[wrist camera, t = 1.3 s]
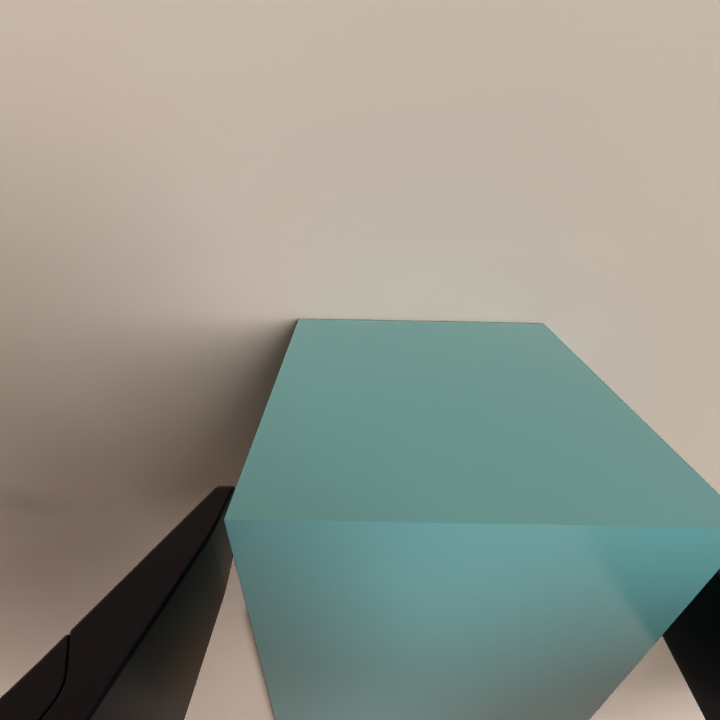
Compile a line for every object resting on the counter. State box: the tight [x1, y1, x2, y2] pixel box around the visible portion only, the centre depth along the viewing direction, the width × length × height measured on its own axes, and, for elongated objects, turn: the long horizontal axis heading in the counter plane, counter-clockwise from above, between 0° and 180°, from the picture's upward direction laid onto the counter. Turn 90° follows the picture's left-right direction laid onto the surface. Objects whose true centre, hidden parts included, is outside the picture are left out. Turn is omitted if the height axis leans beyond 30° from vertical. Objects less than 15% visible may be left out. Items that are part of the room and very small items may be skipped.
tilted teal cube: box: [224, 319, 720, 720], centre depth 9 cm, size 6×6×6 cm
